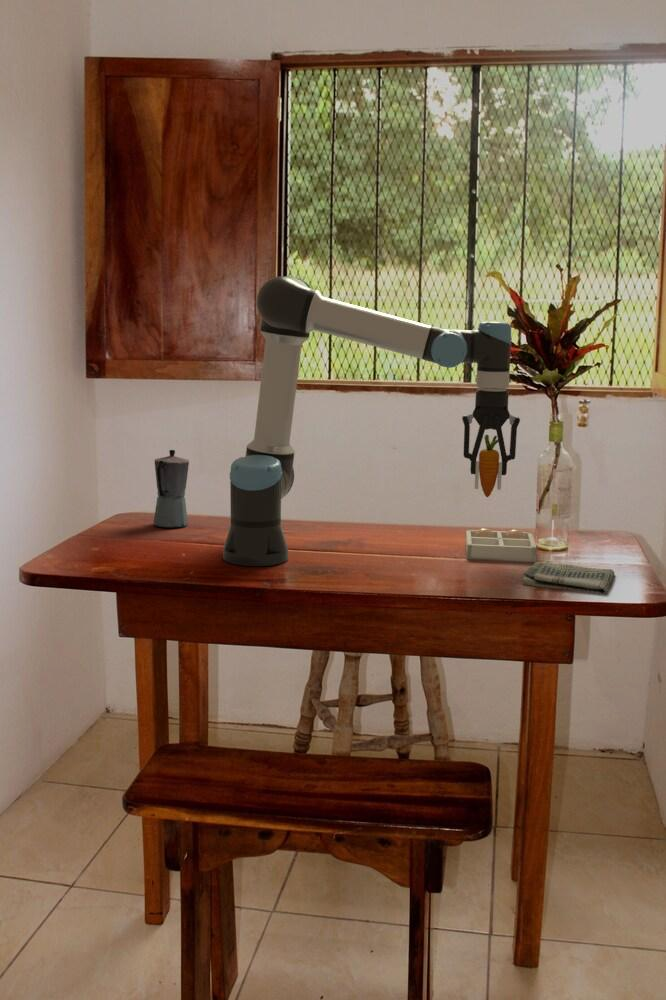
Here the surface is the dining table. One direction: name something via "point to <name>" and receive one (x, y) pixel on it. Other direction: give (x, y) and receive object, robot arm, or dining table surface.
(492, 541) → the carton
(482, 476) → the carrot
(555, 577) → the dish towel
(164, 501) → the moka pot
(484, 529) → the brown egg left
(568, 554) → the dining table surface
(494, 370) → the robot arm
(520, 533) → the brown egg right
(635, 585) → the dining table surface
